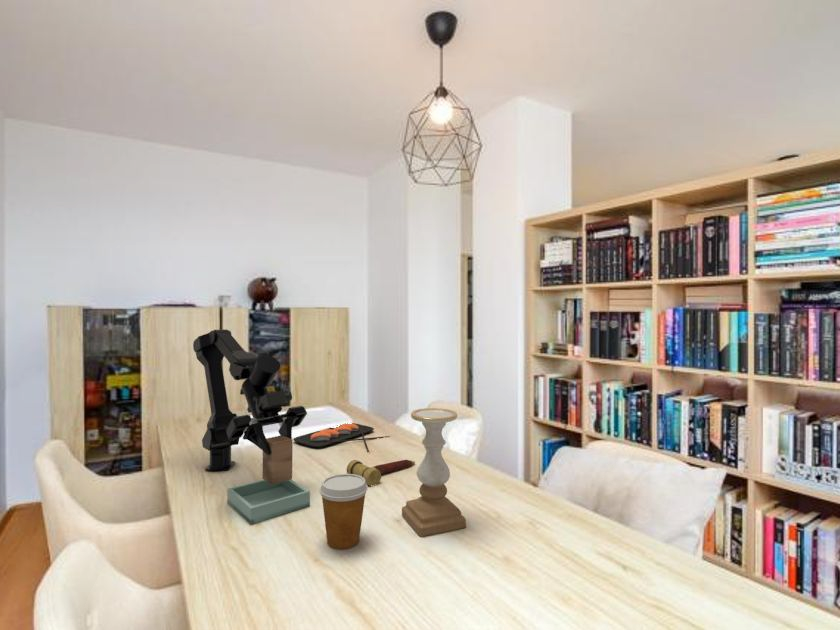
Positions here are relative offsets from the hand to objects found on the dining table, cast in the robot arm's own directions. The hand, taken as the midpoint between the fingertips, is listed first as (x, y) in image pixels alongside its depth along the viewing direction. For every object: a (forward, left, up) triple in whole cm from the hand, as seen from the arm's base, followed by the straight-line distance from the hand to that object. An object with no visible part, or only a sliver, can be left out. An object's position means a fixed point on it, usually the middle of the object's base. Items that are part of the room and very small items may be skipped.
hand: (280, 451), depth 107 cm
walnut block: (-1, -1, -7) cm, 7 cm away
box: (0, -3, -12) cm, 13 cm away
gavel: (-19, +26, -13) cm, 34 cm away
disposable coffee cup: (+19, +16, -13) cm, 28 cm away
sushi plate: (-50, +14, -13) cm, 54 cm away
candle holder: (+12, +35, -13) cm, 39 cm away
